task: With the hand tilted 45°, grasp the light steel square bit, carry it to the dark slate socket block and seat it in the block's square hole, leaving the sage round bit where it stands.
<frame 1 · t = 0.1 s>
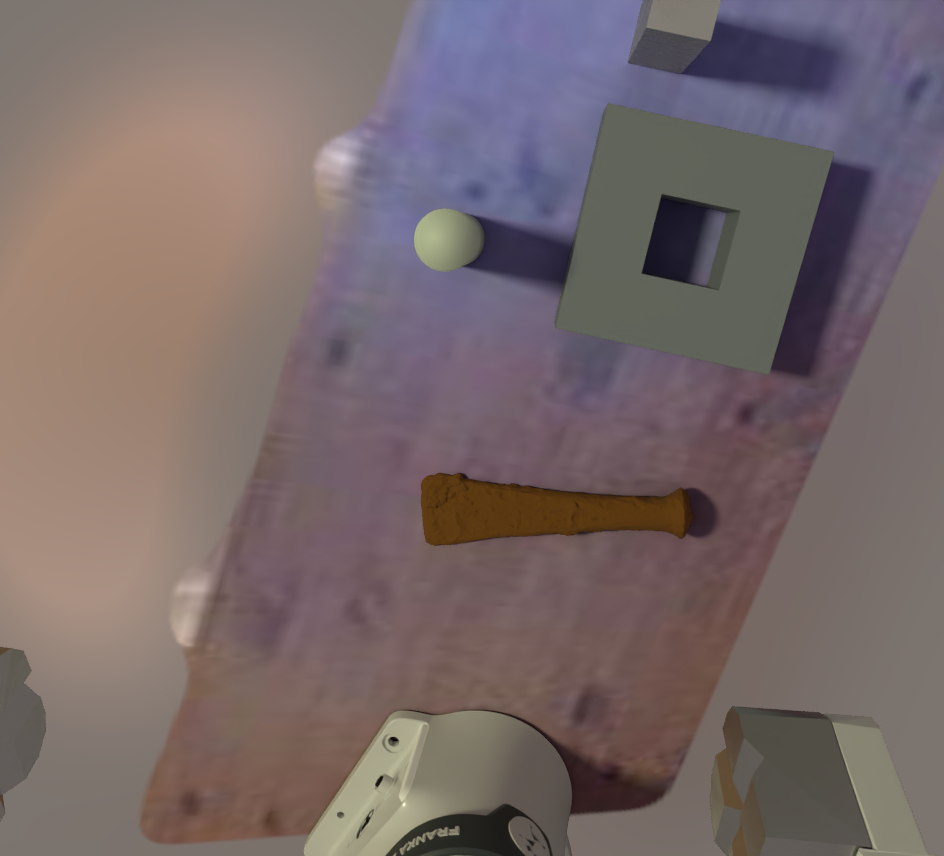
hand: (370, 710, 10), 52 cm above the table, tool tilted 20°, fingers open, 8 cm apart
socket block: (680, 241, 59), on the table
square bit: (661, 39, 56), on the table
primitive tool: (549, 510, 64), on the table
round bit: (459, 239, 60), on the table
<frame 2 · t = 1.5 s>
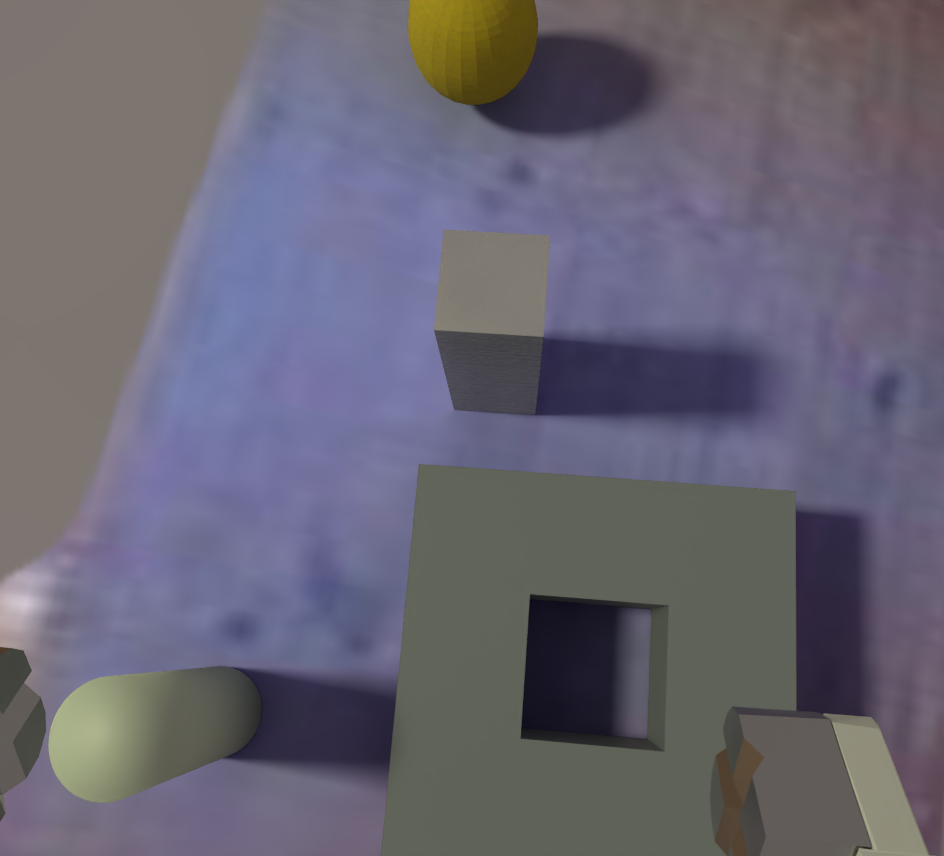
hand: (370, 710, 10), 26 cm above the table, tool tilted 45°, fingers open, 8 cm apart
socket block: (586, 667, 35), on the table
lemon: (476, 88, 42), on the table
square bit: (497, 373, 38), on the table
round bit: (218, 711, 35), on the table
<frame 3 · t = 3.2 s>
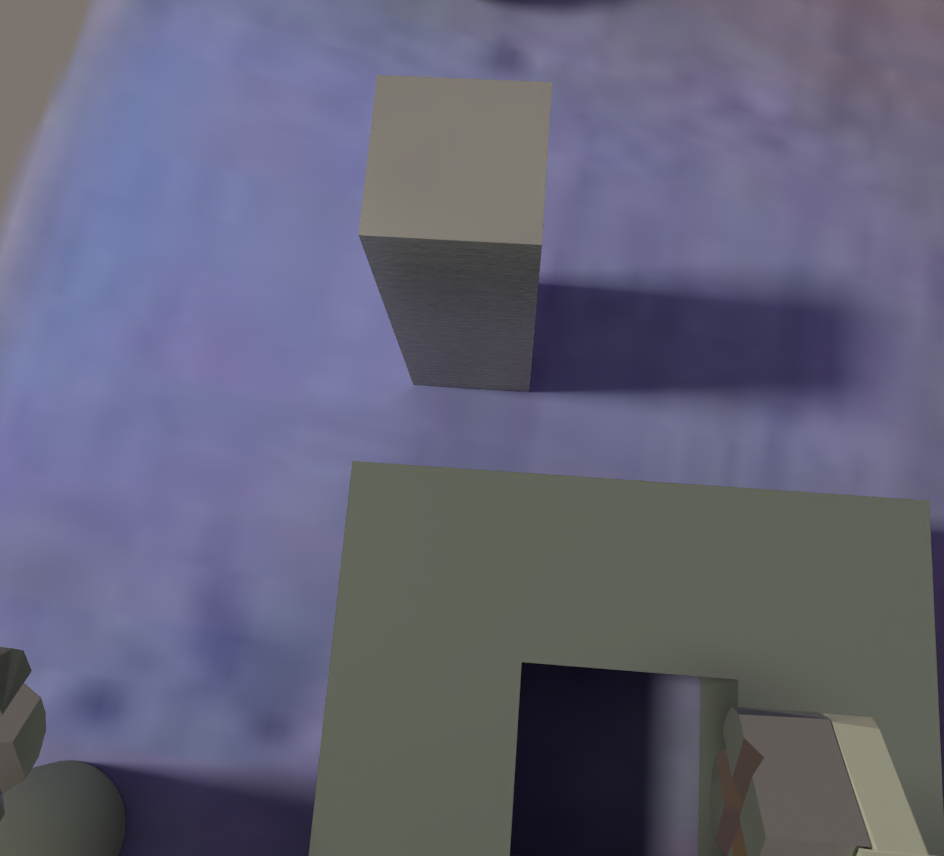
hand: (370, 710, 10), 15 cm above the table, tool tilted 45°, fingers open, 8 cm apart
socket block: (606, 762, 24), on the table
square bit: (475, 333, 27), on the table
round bit: (62, 828, 24), on the table
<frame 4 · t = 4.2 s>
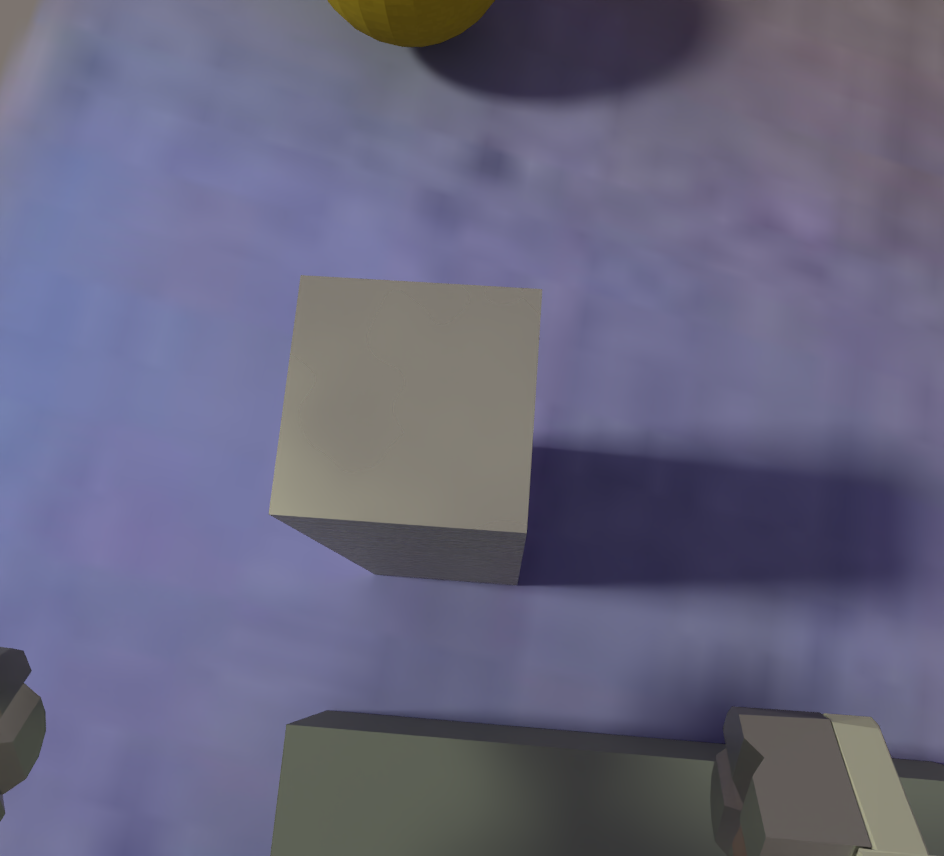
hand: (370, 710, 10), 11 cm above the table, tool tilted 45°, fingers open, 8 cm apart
lemon: (422, 27, 26), on the table
square bit: (451, 509, 22), on the table
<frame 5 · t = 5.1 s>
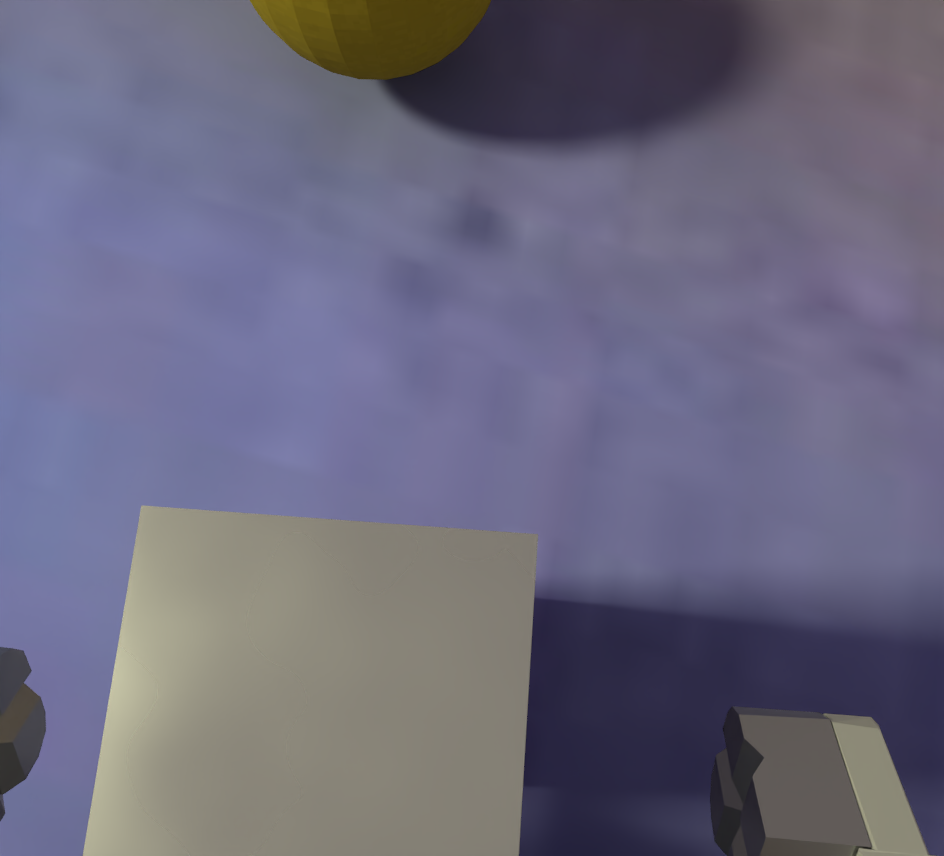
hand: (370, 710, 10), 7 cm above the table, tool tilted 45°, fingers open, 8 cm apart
lemon: (392, 50, 21), on the table
square bit: (424, 681, 17), on the table
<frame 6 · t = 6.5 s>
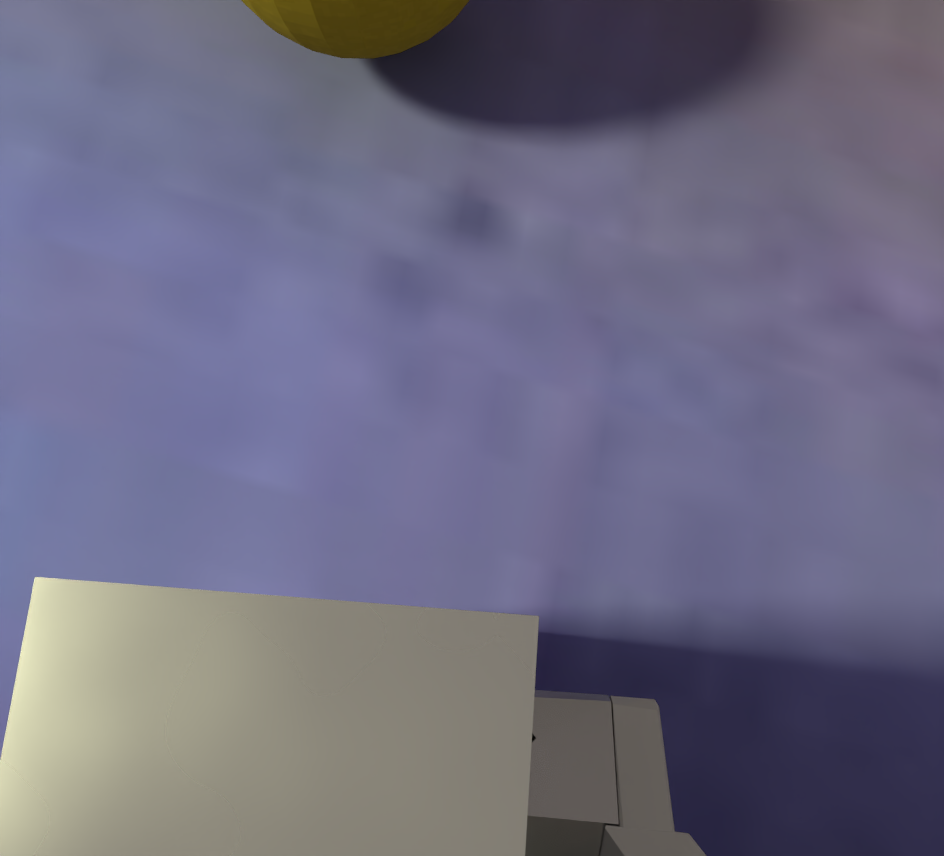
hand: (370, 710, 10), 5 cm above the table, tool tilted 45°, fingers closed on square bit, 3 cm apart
lemon: (380, 28, 19), on the table
square bit: (413, 724, 15), on the table, touching gripper
when the fingers open (7 cm above the table, at t = 12.5 s): square bit drops 1 cm, point 1 cm above the table.
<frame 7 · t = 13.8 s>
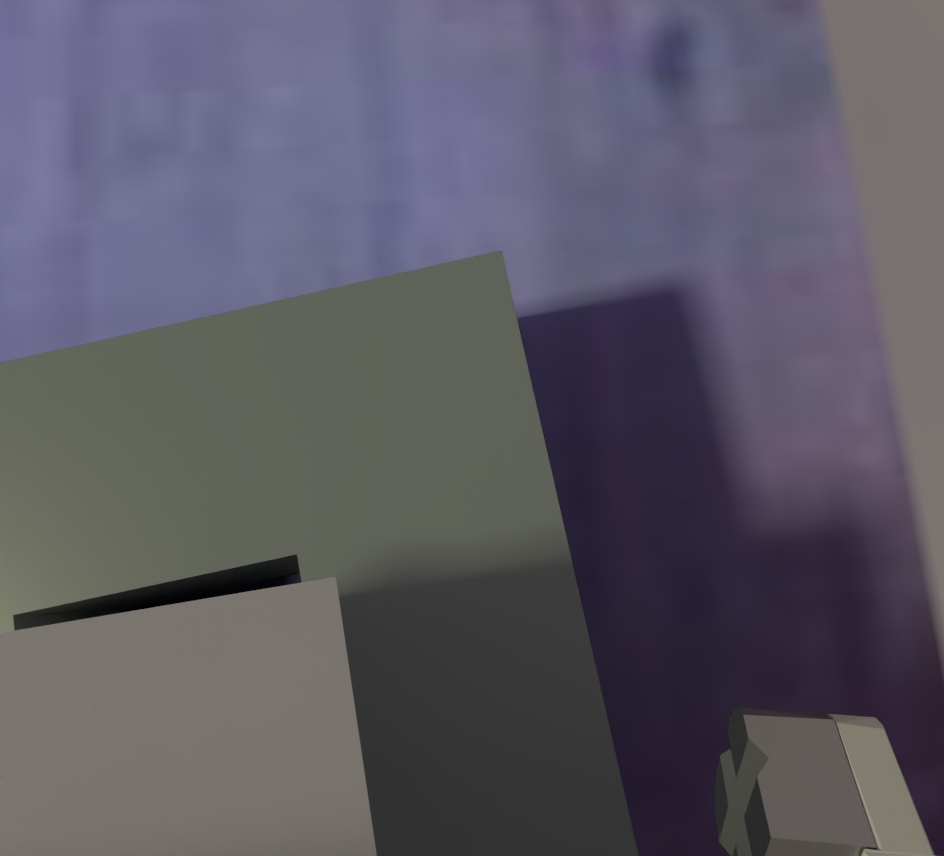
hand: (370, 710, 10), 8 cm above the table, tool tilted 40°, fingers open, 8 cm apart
socket block: (251, 705, 18), on the table
square bit: (217, 711, 18), point 1 cm above the table, tilted 18°, touching gripper
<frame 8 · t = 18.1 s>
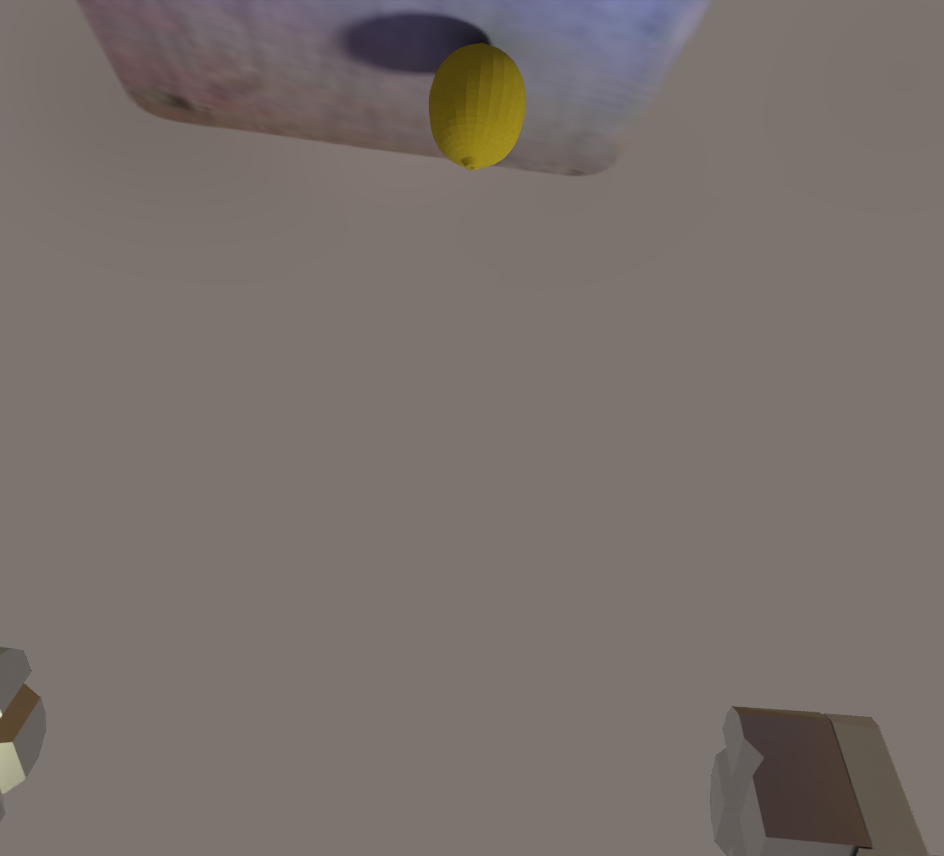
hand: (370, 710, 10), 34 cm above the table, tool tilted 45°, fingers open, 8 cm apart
lemon: (482, 41, 51), on the table
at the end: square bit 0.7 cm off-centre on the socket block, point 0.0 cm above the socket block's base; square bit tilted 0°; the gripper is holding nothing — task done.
